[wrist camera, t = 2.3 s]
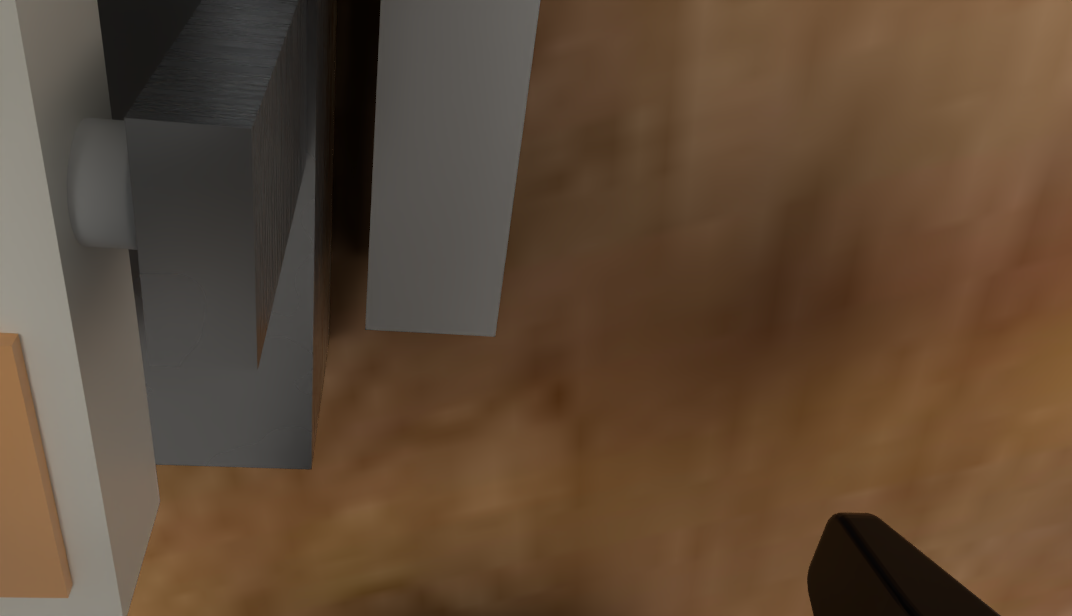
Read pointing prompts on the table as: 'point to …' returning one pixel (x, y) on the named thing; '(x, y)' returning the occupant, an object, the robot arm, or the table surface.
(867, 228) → the table surface
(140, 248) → the grey stand
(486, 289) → the tall grey pillar
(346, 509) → the table surface
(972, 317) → the table surface
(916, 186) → the table surface
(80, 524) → the rocker switch
